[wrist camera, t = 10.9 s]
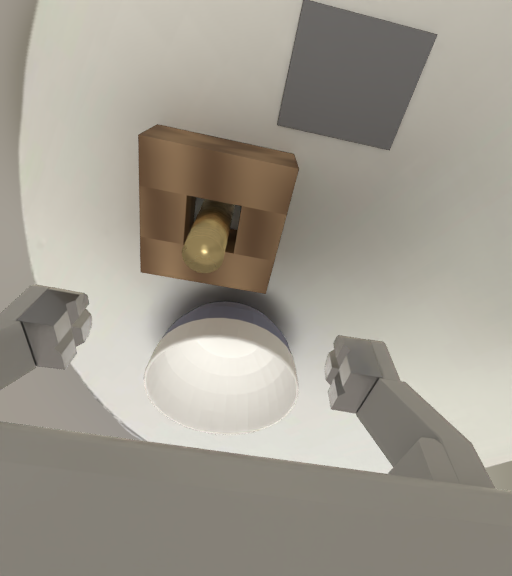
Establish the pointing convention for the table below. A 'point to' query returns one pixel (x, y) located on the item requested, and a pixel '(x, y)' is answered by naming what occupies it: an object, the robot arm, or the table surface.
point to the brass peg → (208, 237)
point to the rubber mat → (352, 75)
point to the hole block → (219, 187)
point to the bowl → (222, 371)
